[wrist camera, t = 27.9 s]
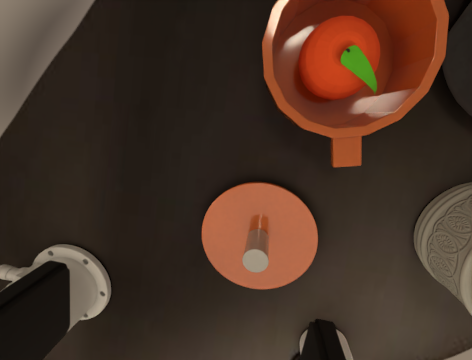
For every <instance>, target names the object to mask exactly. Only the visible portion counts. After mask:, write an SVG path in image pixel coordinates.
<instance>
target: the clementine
mask: <svg viewBox="0 0 472 360" xmlns="http://www.w3.org/2000/svg"><path fill="white" fill-rule="evenodd" d="M379 59H380V43H379V40H378V37H377V34H376V32H375V31H374V29H373V28H372V27H371V26H370V25H369V24H368V23H367V22H365V21H364V20H362V19H360V18H357V17H354V16H338V17H333V18H330V19H328V20H326V21H325V22H323V23H321V24H320V25H319V26H318V27H317V28H315V29H314V30H313V31H312V32H311V33H310V34H309V36H308V37H307V39H306V40H305V41H304V43H303V46H302V48H301V51H300V55H299V62H298V65H299V74H300V77H301V79H302V82H303V84H304V85H305V86H306V88H307V89H308V90H309V91H310V92H312V93H313V94H314V95H316V96H318V97H321V98H323V99H329V100H338V99H343V98H347V97H349V96H351V95H353V94H355V93H356V92H358V91H359V90H360V89H362V88H363V87H364V86H365V85H366V84H367V85H368V86H369V87H370V88H371V89H372V90H373V91H374V95H375V93H376V90H377V81H376V78H375V75H374V73H375V71H376V69H377V67H378V64H379Z"/></svg>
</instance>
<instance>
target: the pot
mask: <svg viewBox="0 0 472 360" xmlns="http://www.w3.org/2000/svg"><path fill="white" fill-rule="evenodd" d="M338 16H354V17H357V18H360V19H362V20H364V21H365V22H367V23H368V24H369V25H370V26H371V27H372V28H373V29H374V31H375V32H376V34H377V37H378V40H379V43H380V59H379V64H378V67H377V69H376V71H375V73H374V75H375V78H376V81H377V90H376V93H375V95H374V91H373V90H372V89H371V88H370V87H369V86H368V85H367V84H366V85H365V86H364V87H363V88H362V89H360V90H359V91H358V92H356V93H355V94H353V95H351V96H349V97H347V98H343V99H338V100H329V99H323V98H321V97H318V96H316V95H314V94H313V93H312V92H310V91H309V90H308V89H307V88H306V86H305V85H304V84H303V82H302V79H301V77H300V74H299V65H298V62H299V55H300V51H301V48H302V46H303V43H304V41H305V40H306V39H307V37H308V36H309V34H310V33H311V32H312V31H313V30H314V29H315V28H317V27H318V26H319V25H320V24H321V23H323V22H325V21H326V20H328V19H330V18H333V17H338ZM448 23H449V13H448V10H447V8H446V5H445V2H444V0H277V2H276V3H275V4H274V6H273V8H272V11H271V14H270V18H269V21H268V25H267V28H266V31H265V35H264V38H263V41H262V51H263V66H264V79H265V83H266V88H267V90H268V92H269V94H270V96H271V98H272V100H273V102H274V104H275V107H276V109H277V110H278V111H279V112H280V113H281V114H282V115H284V116H285V117H286V118H287V119H288V120H289V121H290V122H292V123H293V124H294V125H295V126H297V127H300V128H302V129H305V130H308V131H311V132H315V133H318V134H321V135H324V136H327V137H331V166H333V167H347V166H360V165H361V151H362V136H365V135H368V134H371V133H373V132H375V131H377V130H379V129H381V128H383V127H385V126H388V125H390V124H392V123H394V122H396V121H398V120H399V119H401V118H402V117H403V116H404V115H405V114H406V113H407V112H408V111H409V110H410V109H411V108H412V107H413V106H414V105H415V104H416V103H418V102H419V101H420V100H421V99H422V98H423V97H424V96H425V95H426V94H427V93H428V91H429V89H430V87H431V85H432V83H433V81H434V79H435V77H436V75H437V73H438V71H439V69H440V67H441V65H442V63H443V60H444V58H445V55H446V45H447V34H448Z"/></svg>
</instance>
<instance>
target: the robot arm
mask: <svg viewBox="0 0 472 360" xmlns="http://www.w3.org/2000/svg"><path fill="white" fill-rule="evenodd" d="M0 279H4V280H11V281H12V283H9V284H8V285H7V287H6V288H4V289H3V290H1V291H0V360H42V359H43V358H44V357H45V356H46V355H47V354H48V353H49V352H50V351H51V350H52V348H53V347H54V346H55V345H56V344H57V343H58V342H59V341H60V340H61V339H62V338H63V337H64V336H65V334H66V333H67V332H68V331H69V330H70V329H71V328H72V327H73V326H74V325H75V324H76V323H77V322H78V321H79V320H85V319H90V318H92V317H95V316H96V315H98V314H99V313H100V312H101V311H102V310H103V309H104V308H105V307H106V305H107V304H108V302H109V299H110V296H111V283H110V279H109V276H108V274H107V272H106V270H105V268H104V267H103V266H102V264H101V263H100V262H99V261H98V260H97V259H96V258H95V257H94V256H93V255H92V254H90V253H89V252H87V251H86V250H84V249H82V248H80V247H77V246H73V245H68V244H58V245H54V246H51V247H49V248H48V249H46V250H44V251H43V252H41V253H40V254H39V255H38V256H37V257H36V258H35V260H34V262H33V265H32V266H31V267H29V268H27V267H23V268H20V269H19V268H17V267H14V266H10V265H6V264H3V265H1V266H0ZM299 360H346V358H345V355H344V352H343V349H342V346H341V343H340V340H339V337H338V334H337V331H336V328H335V325H334V323H333V322H330V321H325V320H321V319H316V320H315V323H314V322H310V324H309V327H308V331H307V334H306V338H305V341H304V345H303V349H302V352H301V356H300V359H299Z"/></svg>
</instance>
